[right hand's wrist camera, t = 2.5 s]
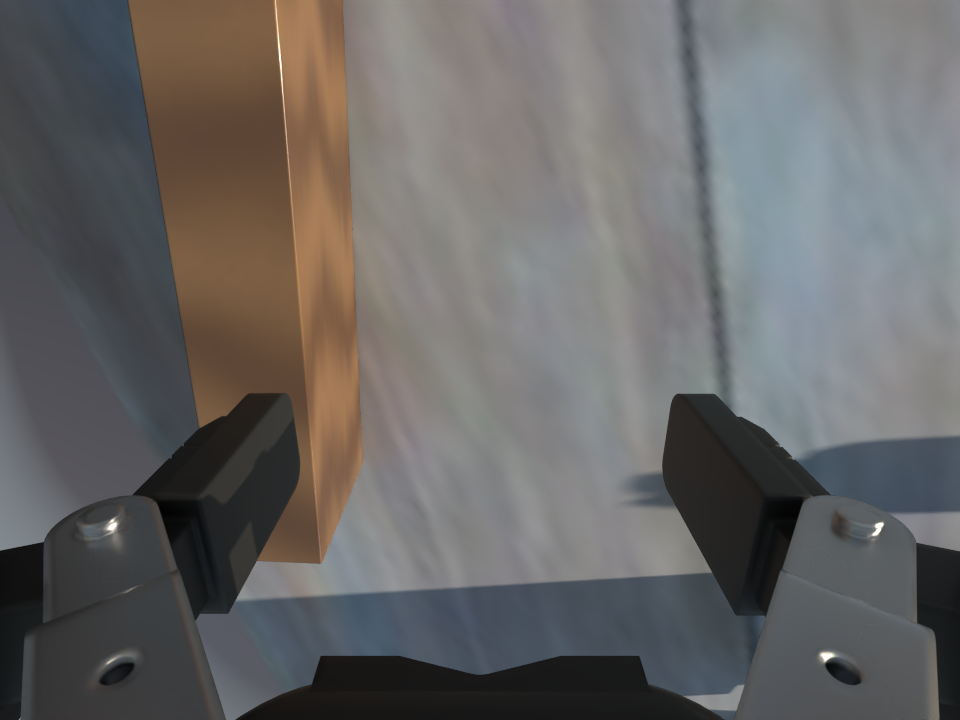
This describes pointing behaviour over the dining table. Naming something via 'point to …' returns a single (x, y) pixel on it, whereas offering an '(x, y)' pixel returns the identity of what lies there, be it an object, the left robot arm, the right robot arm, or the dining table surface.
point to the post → (261, 226)
